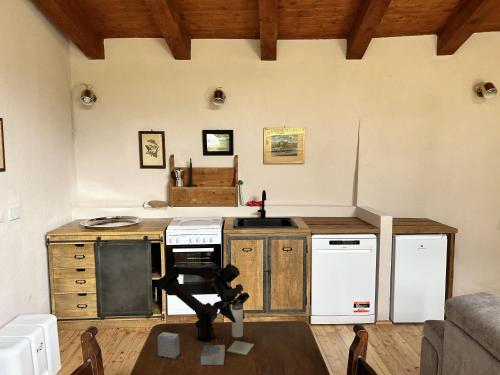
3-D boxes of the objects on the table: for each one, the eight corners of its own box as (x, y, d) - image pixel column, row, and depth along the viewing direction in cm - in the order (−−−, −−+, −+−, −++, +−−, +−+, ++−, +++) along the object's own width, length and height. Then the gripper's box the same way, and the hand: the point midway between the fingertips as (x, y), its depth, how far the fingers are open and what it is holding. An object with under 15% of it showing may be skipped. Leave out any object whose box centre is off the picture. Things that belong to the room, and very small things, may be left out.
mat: (226, 351, 153) (226, 350, 153) (235, 341, 161) (235, 340, 161) (246, 355, 150) (246, 354, 150) (253, 345, 158) (253, 344, 158)
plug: (231, 337, 151) (231, 307, 150) (231, 332, 156) (231, 303, 155) (243, 337, 151) (243, 307, 150) (242, 331, 156) (242, 302, 155)
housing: (203, 353, 151) (203, 345, 151) (225, 353, 151) (224, 345, 151) (200, 365, 142) (200, 356, 142) (223, 364, 142) (223, 356, 142)
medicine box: (179, 354, 151) (179, 334, 151) (174, 359, 147) (173, 338, 146) (163, 351, 154) (163, 331, 153) (157, 356, 150) (157, 336, 149)
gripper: (213, 284, 149) (231, 318, 141) (246, 274, 161) (264, 305, 154) (203, 297, 155) (219, 330, 147) (235, 287, 168) (251, 317, 160)
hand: (239, 320), depth 152 cm, fingers closed on plug, 5 cm apart
